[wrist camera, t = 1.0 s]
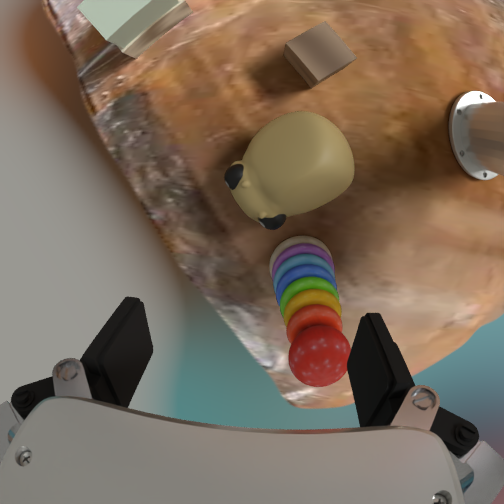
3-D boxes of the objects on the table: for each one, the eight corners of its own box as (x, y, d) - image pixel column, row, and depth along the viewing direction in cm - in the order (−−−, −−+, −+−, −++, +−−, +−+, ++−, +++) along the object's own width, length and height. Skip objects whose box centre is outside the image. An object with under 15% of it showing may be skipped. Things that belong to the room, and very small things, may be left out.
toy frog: (219, 158, 31) (197, 169, 21) (307, 100, 28) (325, 85, 18) (268, 225, 34) (268, 264, 24) (353, 172, 31) (388, 190, 21)
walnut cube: (317, 35, 25) (325, 21, 20) (344, 67, 26) (356, 58, 21) (283, 56, 26) (285, 43, 21) (311, 88, 27) (318, 81, 23)
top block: (144, -27, 18) (131, -41, 14) (179, 2, 20) (168, -12, 17) (94, 15, 20) (77, 7, 17) (123, 48, 23) (106, 40, 19)
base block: (155, -20, 21) (145, -32, 18) (193, 12, 24) (185, 0, 20) (104, 24, 24) (89, 16, 20) (137, 59, 27) (122, 52, 23)
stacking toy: (257, 271, 37) (246, 385, 20) (293, 221, 34) (315, 315, 17) (306, 299, 38) (325, 414, 21) (343, 254, 35) (394, 358, 18)
